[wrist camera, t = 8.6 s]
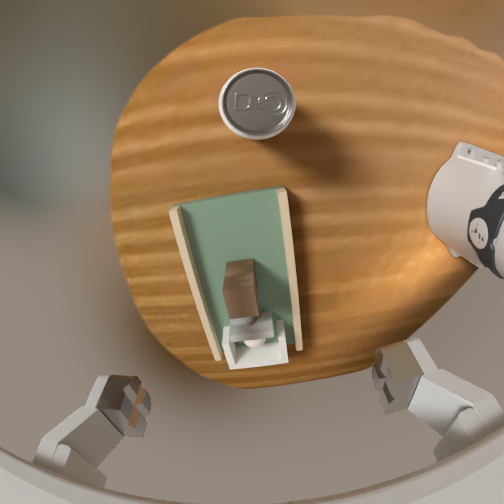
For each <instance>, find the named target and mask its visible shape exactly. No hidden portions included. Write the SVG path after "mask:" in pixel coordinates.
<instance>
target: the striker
mask: <svg viewBox="0 0 504 504" xmlns="http://www.w3.org/2000/svg"><path fill="white" fill-rule="evenodd" d="M222 292H223V296H224V300H225V304H226V308H227V311H228V315H229V319H230V329H229V338H230V341H231V342H238V341H246V340H255V339H262V338H270V337H274V330H273V321H272V313H271V311H266V312H259V303H258V284H257V278H256V273H255V267H254V262H253V258H251V259H244V260H238V261H231V262H226V269H225V276H224V283H223V290H222Z"/></svg>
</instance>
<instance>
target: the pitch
mask: <svg viewBox="0 0 504 504" xmlns="http://www.w3.org/2000/svg"><path fill="white" fill-rule="evenodd" d="M169 214H170V218H171V222H172V226H173V229H174V233H175V237H176V240H177V244H178V247H179V251H180V254H181V258H182V261H183V264H184V268H185V271H186V274H187V278H188V281H189V284H190V287H191V291H192V294H193V297H194V300H195V303H196V306H197V309H198V312H199V315H200V318H201V321H202V324H203V327H204V330H205V333H206V336H207V339H208V342H209V344H210V347H211V350H212V353H213V355H214V358H215V361H218V360H222V352H224V350H223V347H222V339H223V329H224V327H227V326H230V319H229V315H228V311H227V308H226V304H225V300H224V296H223V292H222V290H223V283H224V276H225V269H226V262H231V261H238V260H244V259H251V258H253V262H254V267H255V273H256V278H257V284H258V303H259V312H266V311H271V313H272V321H273V330H274V337H270V338H266V340H265V342H264V343H271V342H278V341H279V340H278V332H277V324H276V320H281V319H283V325H284V332H285V338H286V345H288V344H294V343H295V346H296V351H300V350H303V347H302V333H301V321H300V309H299V298H298V287H297V277H296V267H295V258H294V248H293V239H292V231H291V222H290V214H289V206H288V198H287V191H286V189H285V187H284V186H279V187H272V188H266V189H259V190H253V191H246V192H240V193H234V194H228V195H223V196H217V197H211V198H206V199H201V200H195V201H190V202H185V203H180V204H175V205H174V206H173V207H172V208H171V210H170V211H169ZM235 345H236V347H238V346H247V345H246V344H245V343H244V341H238V342H235Z"/></svg>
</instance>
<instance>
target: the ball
mask: <svg viewBox="0 0 504 504" xmlns="http://www.w3.org/2000/svg"><path fill="white" fill-rule="evenodd" d="M265 340H266V338H262V339H255V340H246V341H244V343H245V344H246V345H247V346H248V347H251V348H258V347H260V346H262V345H263V344H264V342H265Z"/></svg>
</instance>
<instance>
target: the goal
mask: <svg viewBox="0 0 504 504" xmlns="http://www.w3.org/2000/svg"><path fill="white" fill-rule="evenodd" d="M276 324H277V332H278V340H279V341H278V342H271V343H264V344H263V345H262V346H260V347H258V348H251V347H248V346H238V347H236V345H235V342H231V341H230V338H229V329H230V326H227V327H224V329H223V339H222V347H223V350H224V353H225V356H226V359H227V362H228V365H229V368H230V369H240V368H250V367H258V366H267V365H274V364H282V363H288V355H287V346H286V338H285V332H284V325H283V319H281V320H276Z"/></svg>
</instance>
